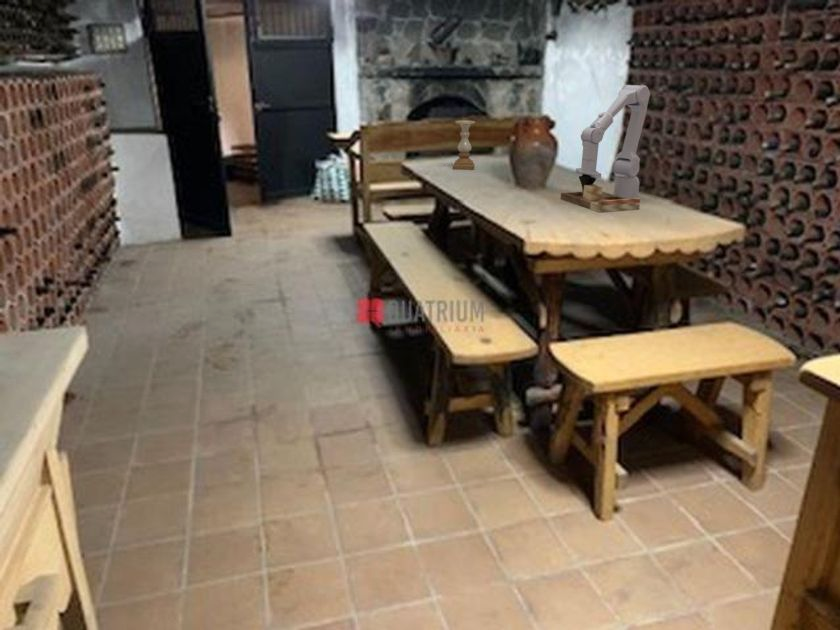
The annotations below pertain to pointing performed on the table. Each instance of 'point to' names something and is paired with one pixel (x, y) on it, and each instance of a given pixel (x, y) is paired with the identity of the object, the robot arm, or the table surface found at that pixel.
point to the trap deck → (602, 202)
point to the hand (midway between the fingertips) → (586, 194)
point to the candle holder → (464, 148)
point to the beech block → (592, 192)
